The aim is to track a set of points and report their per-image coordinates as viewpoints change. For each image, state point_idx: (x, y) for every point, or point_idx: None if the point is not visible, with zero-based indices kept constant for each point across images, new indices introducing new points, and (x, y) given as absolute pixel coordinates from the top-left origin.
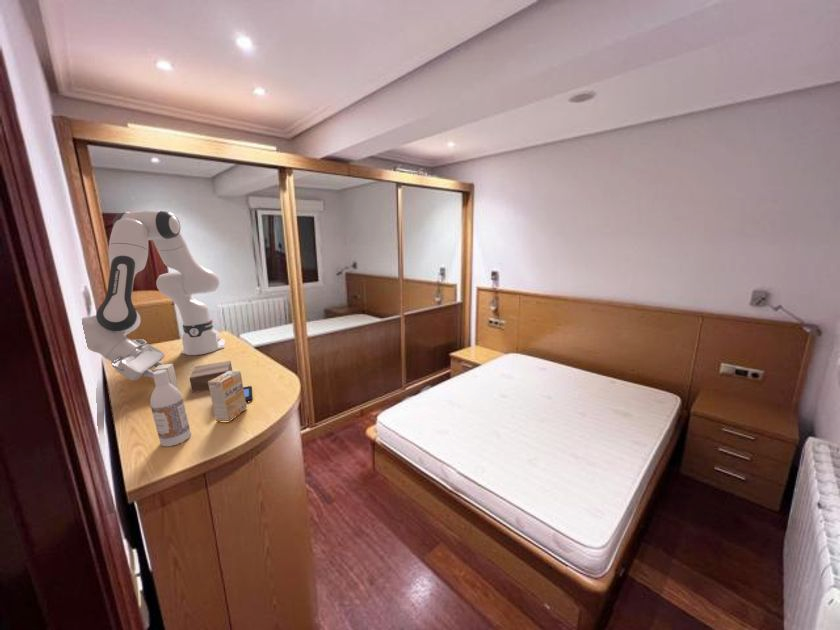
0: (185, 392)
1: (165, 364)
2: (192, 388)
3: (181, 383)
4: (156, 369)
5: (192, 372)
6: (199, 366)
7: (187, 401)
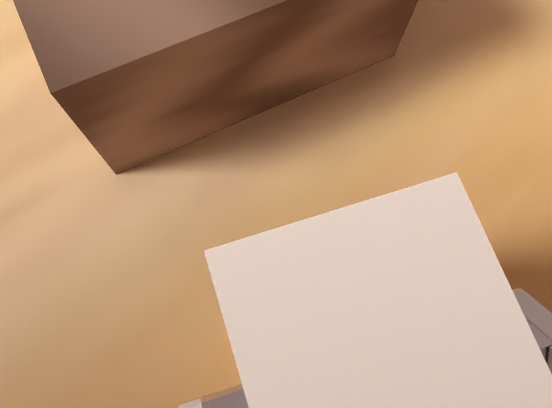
0: (387, 121)
1: (257, 391)
2: (402, 24)
3: (171, 314)
4: (549, 378)
5: (275, 1)
6: (57, 39)
7: (538, 2)
